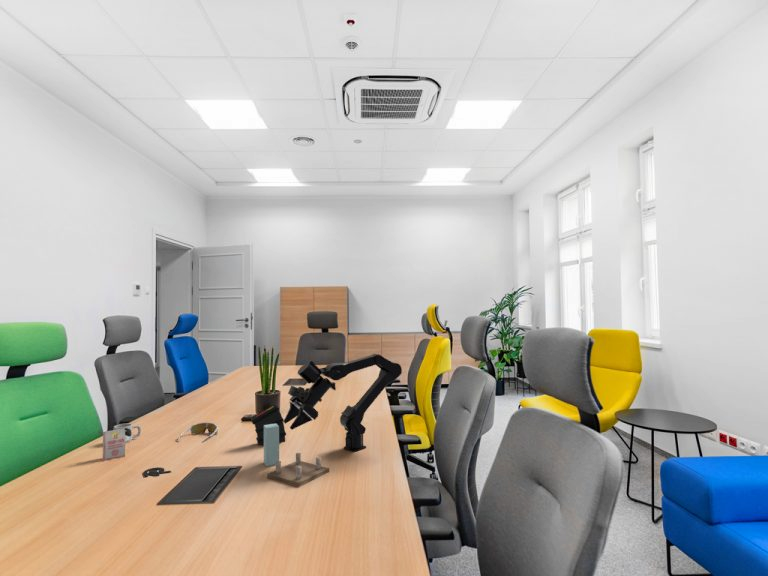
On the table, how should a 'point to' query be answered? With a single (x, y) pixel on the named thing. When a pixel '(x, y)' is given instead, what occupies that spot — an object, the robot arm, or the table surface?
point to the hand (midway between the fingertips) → (287, 425)
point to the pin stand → (298, 471)
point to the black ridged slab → (266, 418)
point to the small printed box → (113, 444)
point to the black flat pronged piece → (154, 472)
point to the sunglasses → (203, 429)
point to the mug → (128, 431)
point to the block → (271, 444)
